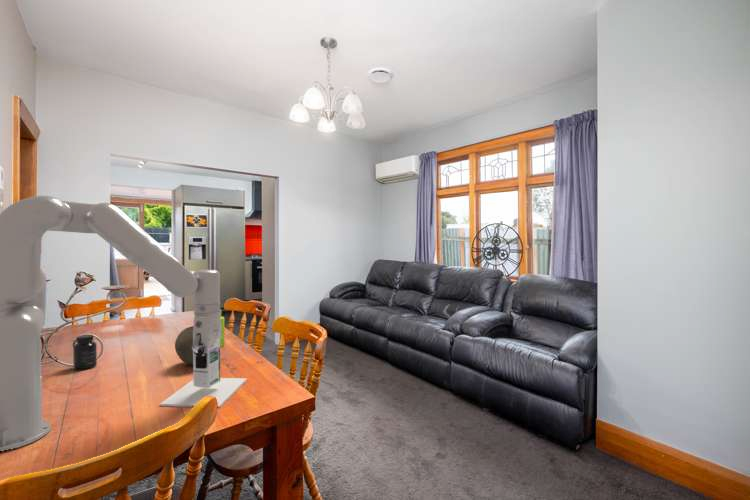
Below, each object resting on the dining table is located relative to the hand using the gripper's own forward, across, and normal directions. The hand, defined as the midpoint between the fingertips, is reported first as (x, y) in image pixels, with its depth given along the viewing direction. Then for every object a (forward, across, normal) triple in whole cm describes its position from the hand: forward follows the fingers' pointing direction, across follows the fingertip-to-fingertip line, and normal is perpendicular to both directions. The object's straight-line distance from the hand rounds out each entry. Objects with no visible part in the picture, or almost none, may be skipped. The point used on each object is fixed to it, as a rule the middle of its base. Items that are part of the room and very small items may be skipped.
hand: (206, 363), depth 112 cm
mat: (+9, 0, 0) cm, 9 cm away
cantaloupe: (+10, +24, +17) cm, 31 cm away
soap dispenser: (+10, +47, +20) cm, 52 cm away
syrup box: (+7, 0, 0) cm, 7 cm away
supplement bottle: (+10, +18, +56) cm, 60 cm away
